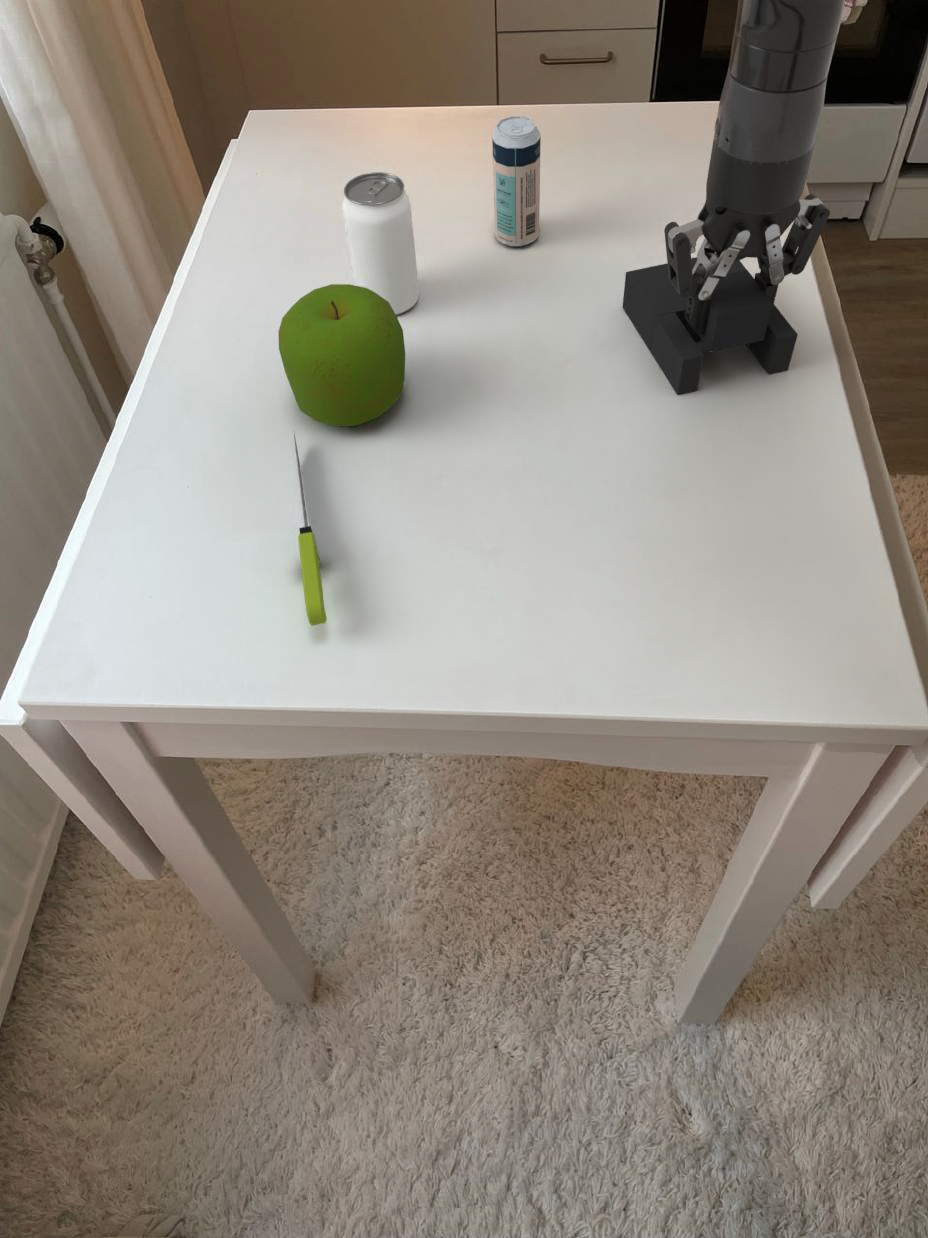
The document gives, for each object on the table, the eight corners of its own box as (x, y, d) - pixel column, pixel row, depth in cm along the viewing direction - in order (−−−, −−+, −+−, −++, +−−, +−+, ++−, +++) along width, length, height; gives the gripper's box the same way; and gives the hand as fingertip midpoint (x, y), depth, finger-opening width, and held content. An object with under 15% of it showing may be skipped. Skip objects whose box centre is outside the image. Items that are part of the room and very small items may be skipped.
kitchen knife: (292, 456, 86) (285, 429, 84) (306, 454, 87) (299, 427, 84) (313, 639, 72) (306, 612, 70) (330, 635, 72) (323, 609, 70)
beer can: (540, 225, 105) (541, 113, 95) (537, 249, 102) (539, 137, 92) (496, 224, 105) (493, 113, 95) (493, 249, 102) (490, 137, 93)
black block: (739, 307, 89) (747, 269, 85) (764, 340, 86) (773, 302, 82) (686, 318, 88) (693, 280, 85) (710, 352, 85) (717, 314, 82)
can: (346, 311, 97) (327, 200, 87) (373, 276, 100) (357, 164, 91) (404, 324, 95) (391, 211, 86) (429, 287, 99) (419, 175, 89)
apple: (406, 439, 85) (393, 338, 77) (287, 442, 86) (260, 342, 77) (412, 360, 92) (401, 258, 83) (302, 363, 92) (279, 262, 84)
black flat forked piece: (788, 370, 88) (798, 334, 85) (677, 395, 87) (683, 359, 84) (724, 285, 97) (731, 249, 93) (622, 306, 95) (625, 271, 92)
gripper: (697, 174, 69) (668, 363, 83) (876, 139, 71) (819, 330, 85) (657, 126, 74) (636, 313, 87) (827, 94, 76) (781, 282, 89)
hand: (727, 320), depth 86 cm, fingers closed on black block, 5 cm apart
